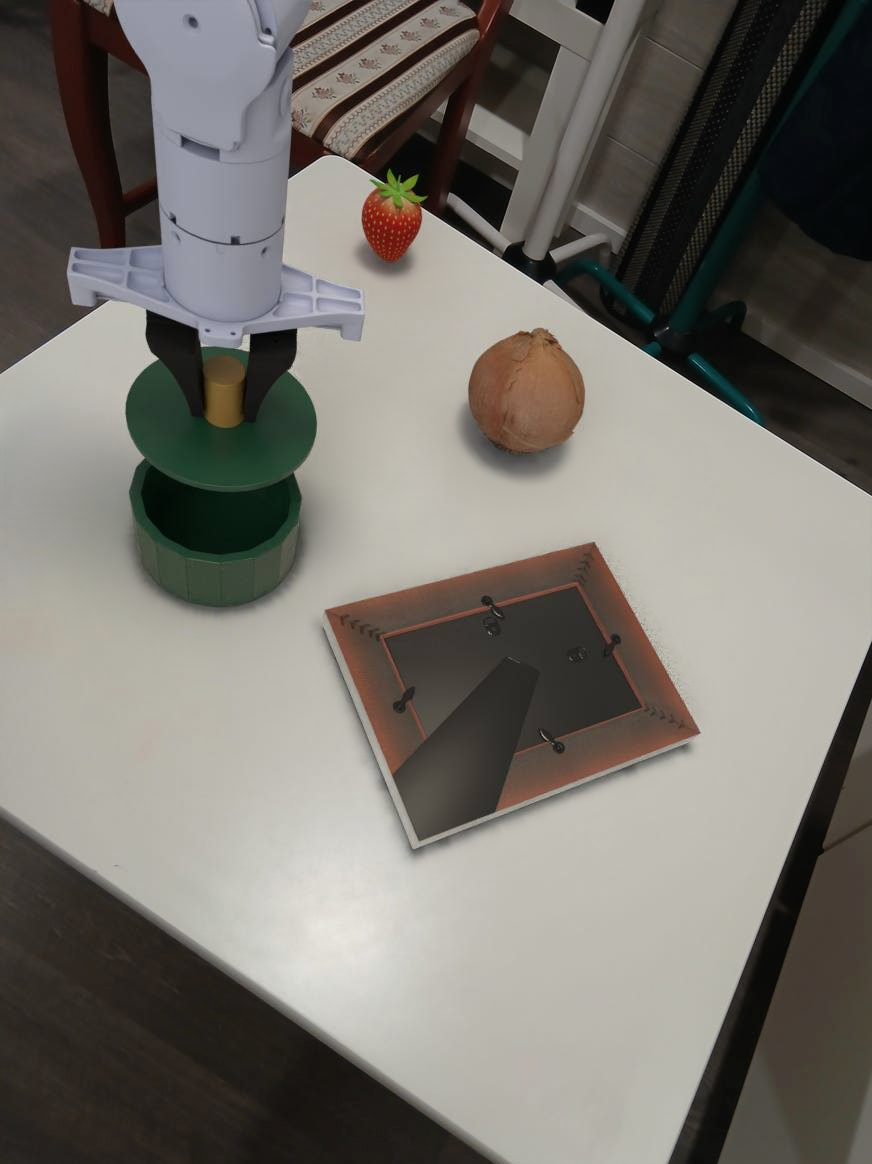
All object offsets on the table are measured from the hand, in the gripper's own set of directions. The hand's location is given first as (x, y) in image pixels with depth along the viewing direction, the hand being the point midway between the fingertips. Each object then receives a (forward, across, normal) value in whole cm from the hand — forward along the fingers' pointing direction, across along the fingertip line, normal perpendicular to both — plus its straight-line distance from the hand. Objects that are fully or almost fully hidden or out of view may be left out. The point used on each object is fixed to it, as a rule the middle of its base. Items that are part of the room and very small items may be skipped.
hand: (223, 407), depth 51 cm
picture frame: (+10, +20, -14) cm, 26 cm away
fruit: (+11, +13, +29) cm, 34 cm away
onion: (+10, +23, +10) cm, 27 cm away
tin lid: (+1, 0, 0) cm, 1 cm away
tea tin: (+10, 0, -3) cm, 11 cm away
